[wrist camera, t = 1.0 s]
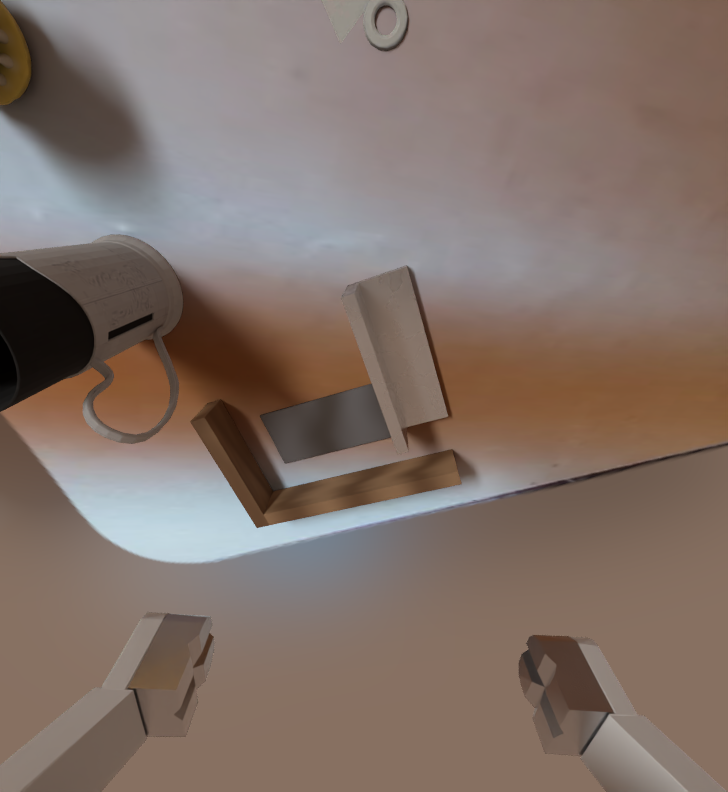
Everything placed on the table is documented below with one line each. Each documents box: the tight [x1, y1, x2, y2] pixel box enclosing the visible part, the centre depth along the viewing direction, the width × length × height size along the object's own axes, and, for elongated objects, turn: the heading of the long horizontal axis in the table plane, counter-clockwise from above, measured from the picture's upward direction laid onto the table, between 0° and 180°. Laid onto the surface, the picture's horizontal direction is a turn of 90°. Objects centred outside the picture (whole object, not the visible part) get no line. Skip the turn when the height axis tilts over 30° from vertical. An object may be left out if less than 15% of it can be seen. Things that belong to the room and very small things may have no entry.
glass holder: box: [0, 235, 183, 444], centre depth 25 cm, size 9×14×15 cm, turn 46°
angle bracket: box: [341, 265, 448, 454], centre depth 30 cm, size 14×5×5 cm, turn 19°
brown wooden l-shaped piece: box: [191, 384, 461, 528], centre depth 35 cm, size 22×14×4 cm, turn 109°
